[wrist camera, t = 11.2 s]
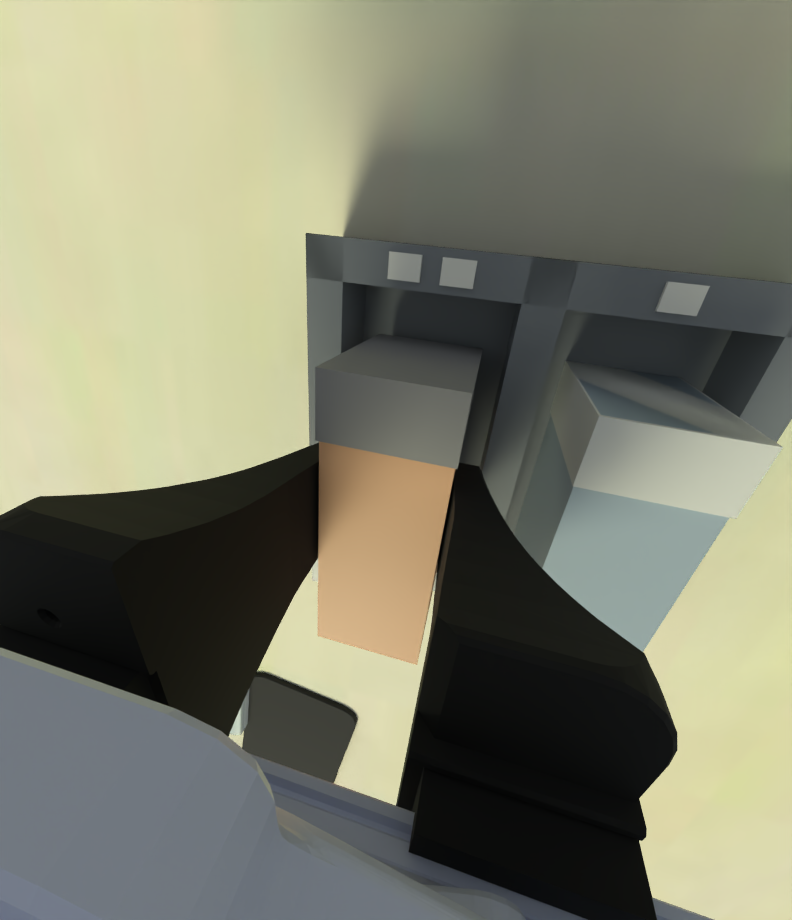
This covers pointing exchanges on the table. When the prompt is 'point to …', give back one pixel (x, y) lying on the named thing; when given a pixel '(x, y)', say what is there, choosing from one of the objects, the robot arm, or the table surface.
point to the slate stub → (635, 490)
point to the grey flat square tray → (550, 335)
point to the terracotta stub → (386, 484)
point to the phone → (297, 727)
